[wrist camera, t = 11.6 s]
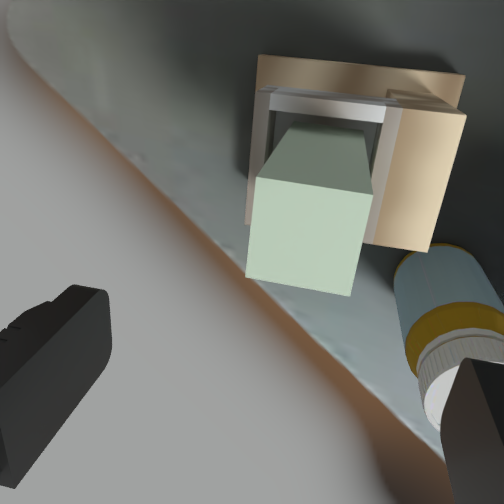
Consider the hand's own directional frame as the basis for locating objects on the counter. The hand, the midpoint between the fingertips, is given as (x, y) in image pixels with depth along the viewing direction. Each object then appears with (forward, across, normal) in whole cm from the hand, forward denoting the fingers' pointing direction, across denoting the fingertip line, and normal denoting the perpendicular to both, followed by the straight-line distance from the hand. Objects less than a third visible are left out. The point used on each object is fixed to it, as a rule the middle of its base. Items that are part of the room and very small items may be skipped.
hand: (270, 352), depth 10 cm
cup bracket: (+28, -1, 0) cm, 28 cm away
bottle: (+28, -11, +11) cm, 32 cm away
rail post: (+19, 0, 0) cm, 19 cm away
